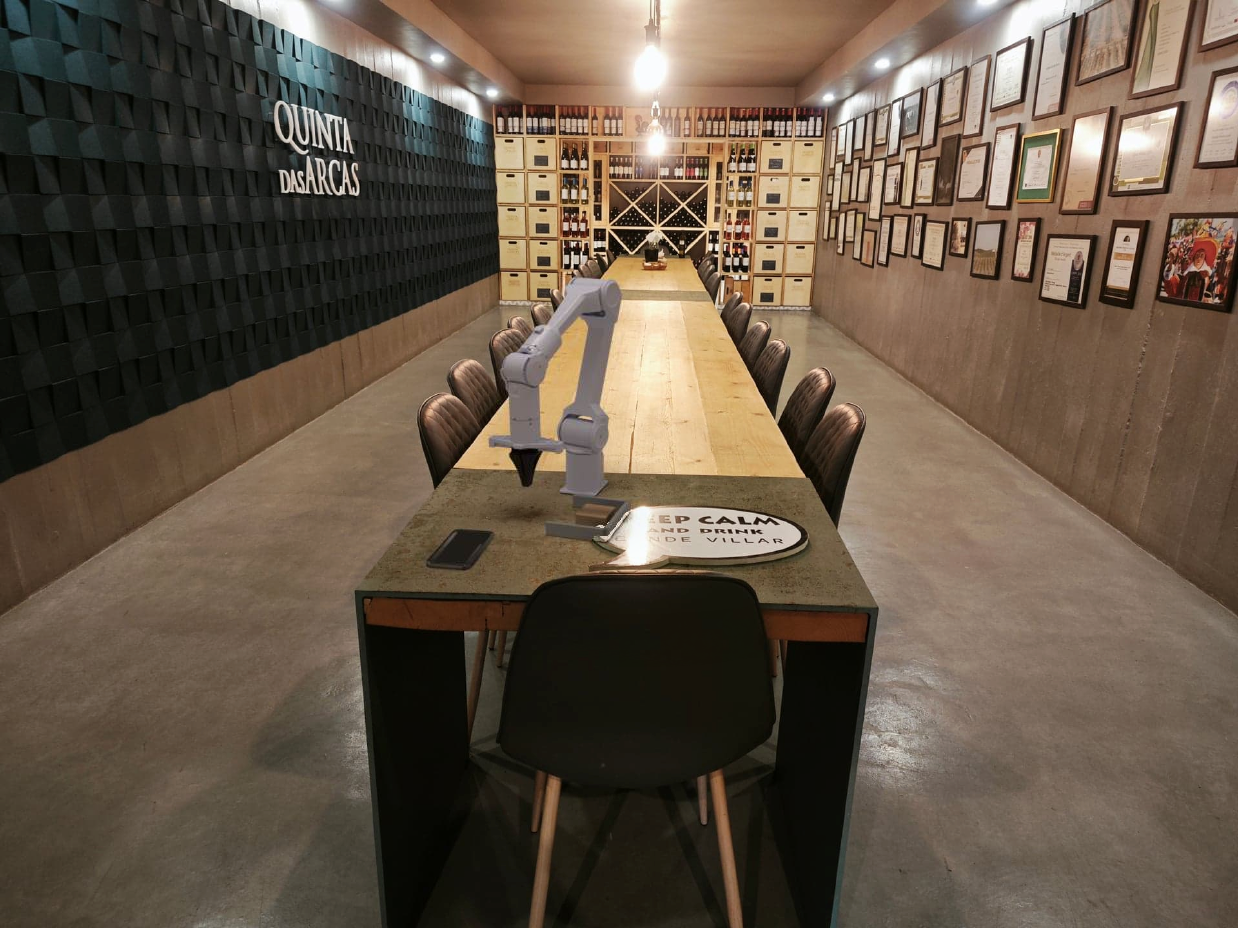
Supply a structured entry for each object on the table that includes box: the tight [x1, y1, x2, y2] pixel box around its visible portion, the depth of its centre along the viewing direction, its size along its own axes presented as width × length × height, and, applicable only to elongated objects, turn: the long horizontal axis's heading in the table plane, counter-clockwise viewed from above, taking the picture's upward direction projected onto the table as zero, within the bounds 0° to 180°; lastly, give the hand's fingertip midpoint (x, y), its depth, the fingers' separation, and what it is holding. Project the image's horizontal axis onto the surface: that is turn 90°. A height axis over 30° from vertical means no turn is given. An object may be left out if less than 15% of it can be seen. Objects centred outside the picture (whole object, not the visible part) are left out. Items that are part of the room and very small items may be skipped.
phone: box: [425, 528, 495, 571], centre depth 138 cm, size 8×1×15 cm
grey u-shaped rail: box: [545, 494, 632, 542], centre depth 149 cm, size 16×12×2 cm
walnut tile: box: [574, 504, 617, 527], centre depth 149 cm, size 6×6×3 cm
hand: (527, 485), depth 151 cm, fingers closed
